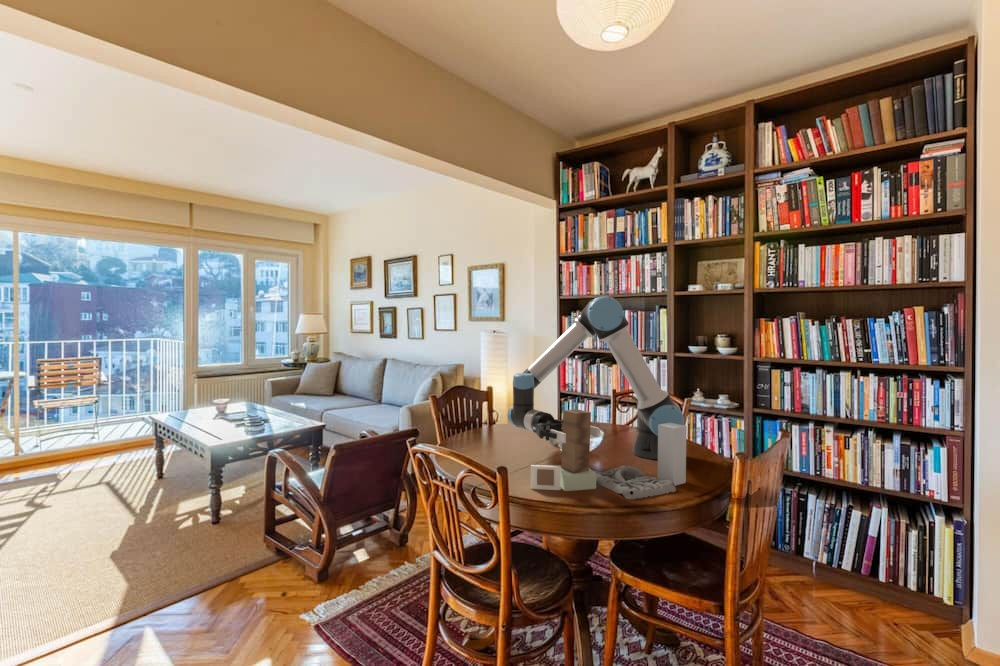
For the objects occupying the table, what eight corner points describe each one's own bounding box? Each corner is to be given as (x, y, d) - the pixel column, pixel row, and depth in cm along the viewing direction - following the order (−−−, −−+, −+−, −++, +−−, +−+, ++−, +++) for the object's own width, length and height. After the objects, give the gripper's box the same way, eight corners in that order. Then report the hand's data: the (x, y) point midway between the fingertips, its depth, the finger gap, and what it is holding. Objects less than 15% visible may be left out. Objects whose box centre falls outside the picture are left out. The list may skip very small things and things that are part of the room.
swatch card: (530, 487, 148) (530, 464, 148) (560, 488, 147) (560, 466, 147) (530, 489, 147) (530, 466, 146) (560, 490, 146) (560, 467, 145)
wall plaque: (679, 492, 146) (680, 479, 146) (629, 502, 138) (629, 488, 138) (628, 469, 167) (628, 458, 167) (582, 477, 159) (582, 465, 159)
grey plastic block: (669, 477, 158) (670, 422, 157) (685, 482, 153) (686, 425, 152) (657, 480, 154) (658, 424, 154) (673, 486, 149) (674, 428, 149)
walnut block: (575, 465, 155) (577, 409, 155) (588, 470, 150) (590, 412, 150) (561, 467, 152) (563, 410, 152) (574, 472, 147) (576, 413, 147)
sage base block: (583, 479, 157) (584, 463, 157) (596, 489, 147) (596, 473, 147) (554, 481, 155) (554, 465, 155) (564, 492, 145) (564, 475, 145)
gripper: (567, 428, 173) (611, 441, 155) (509, 438, 159) (549, 453, 142) (567, 407, 173) (611, 418, 155) (509, 415, 159) (550, 428, 141)
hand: (582, 435), depth 148 cm, fingers open, 13 cm apart
